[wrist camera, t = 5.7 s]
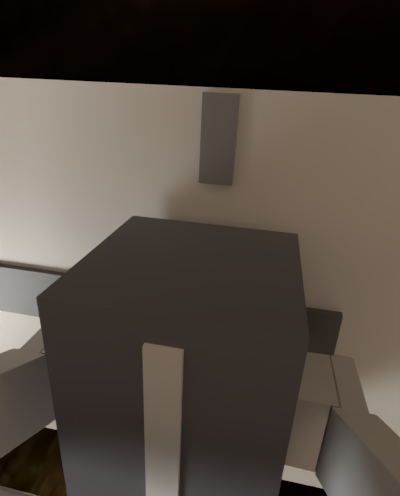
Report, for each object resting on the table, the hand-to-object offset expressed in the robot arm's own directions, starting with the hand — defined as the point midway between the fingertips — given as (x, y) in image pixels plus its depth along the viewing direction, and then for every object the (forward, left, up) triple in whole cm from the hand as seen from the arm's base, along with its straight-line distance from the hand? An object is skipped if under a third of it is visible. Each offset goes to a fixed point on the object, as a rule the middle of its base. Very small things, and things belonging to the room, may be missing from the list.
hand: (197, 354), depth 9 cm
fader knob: (0, 0, -1) cm, 1 cm away
